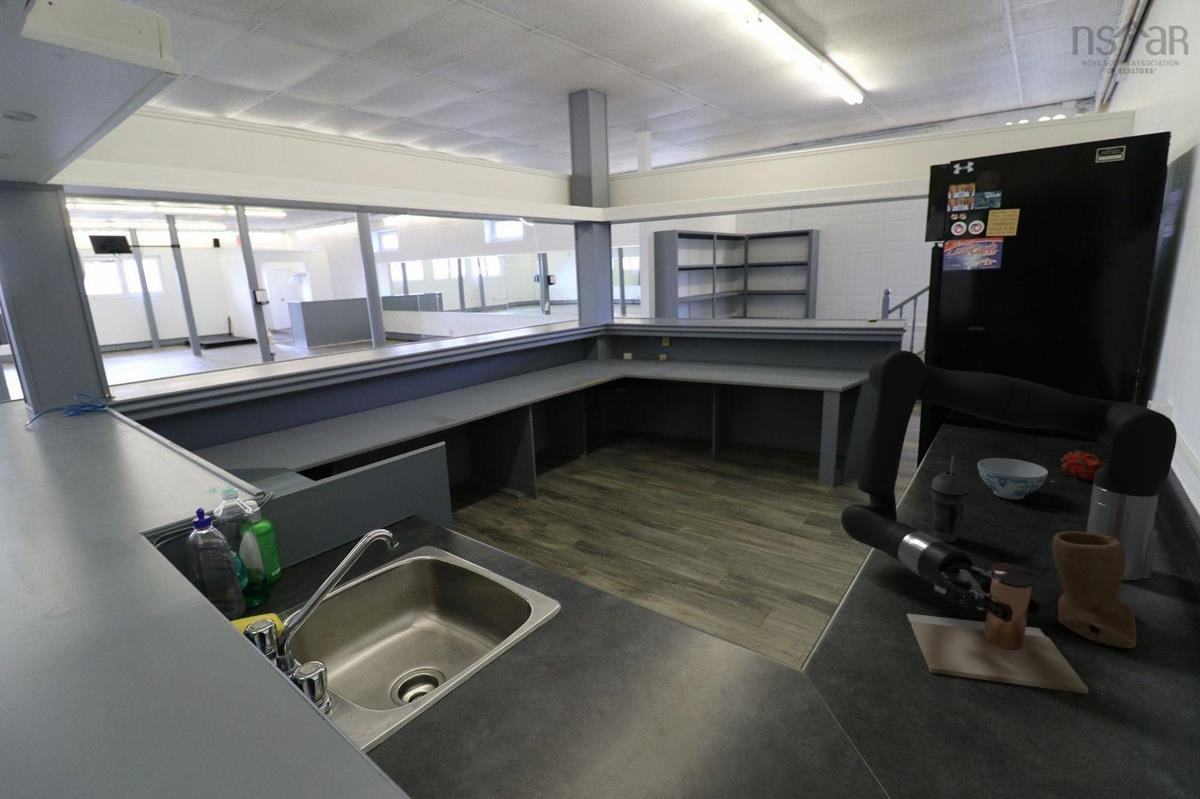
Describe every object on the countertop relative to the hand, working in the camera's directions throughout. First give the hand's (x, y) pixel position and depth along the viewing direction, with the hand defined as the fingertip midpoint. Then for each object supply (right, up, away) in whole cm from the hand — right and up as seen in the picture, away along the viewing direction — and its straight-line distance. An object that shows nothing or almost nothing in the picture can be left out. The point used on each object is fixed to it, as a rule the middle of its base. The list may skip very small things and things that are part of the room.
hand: (1024, 612), depth 84 cm
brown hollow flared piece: (+19, -6, +11) cm, 23 cm away
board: (-2, -8, +4) cm, 10 cm away
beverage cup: (+15, +1, +43) cm, 45 cm away
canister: (0, -6, +4) cm, 7 cm away
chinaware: (+45, +7, +64) cm, 79 cm away
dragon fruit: (+72, +10, +72) cm, 103 cm away
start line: (0, -7, +11) cm, 13 cm away
